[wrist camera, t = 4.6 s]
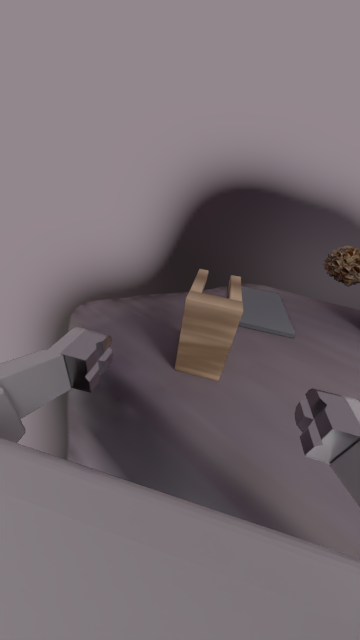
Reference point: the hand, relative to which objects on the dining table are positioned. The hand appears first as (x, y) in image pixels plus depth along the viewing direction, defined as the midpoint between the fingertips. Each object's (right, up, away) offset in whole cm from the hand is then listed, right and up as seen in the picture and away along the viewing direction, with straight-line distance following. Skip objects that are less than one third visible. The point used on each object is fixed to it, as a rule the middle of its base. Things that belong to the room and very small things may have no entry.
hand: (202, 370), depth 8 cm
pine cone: (+48, +11, +51) cm, 71 cm away
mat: (+15, +5, +33) cm, 36 cm away
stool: (+2, -2, +20) cm, 20 cm away
